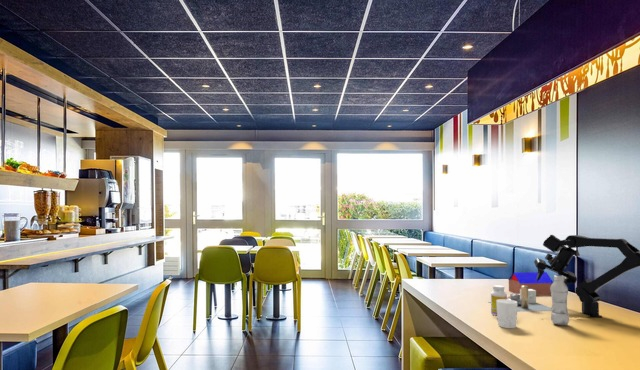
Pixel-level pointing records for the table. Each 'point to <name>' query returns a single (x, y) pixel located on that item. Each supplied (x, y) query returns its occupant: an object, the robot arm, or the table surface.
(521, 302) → the crank handle
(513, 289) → the house
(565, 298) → the plastic bottle
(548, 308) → the stand
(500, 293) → the supplement bottle
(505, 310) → the white cup
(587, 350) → the table surface
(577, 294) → the robot arm
